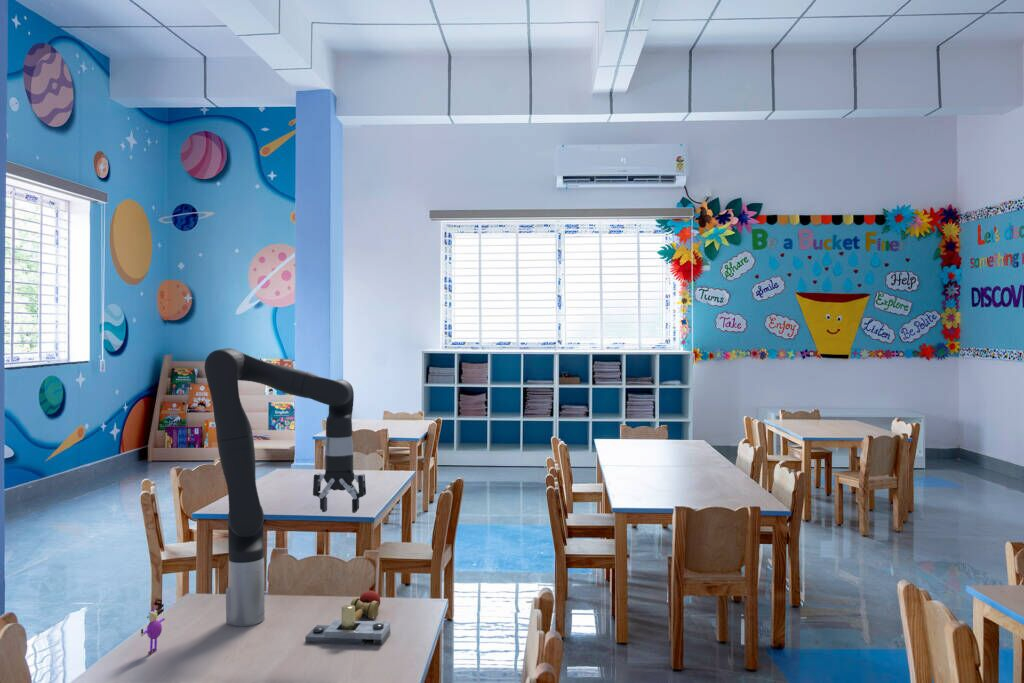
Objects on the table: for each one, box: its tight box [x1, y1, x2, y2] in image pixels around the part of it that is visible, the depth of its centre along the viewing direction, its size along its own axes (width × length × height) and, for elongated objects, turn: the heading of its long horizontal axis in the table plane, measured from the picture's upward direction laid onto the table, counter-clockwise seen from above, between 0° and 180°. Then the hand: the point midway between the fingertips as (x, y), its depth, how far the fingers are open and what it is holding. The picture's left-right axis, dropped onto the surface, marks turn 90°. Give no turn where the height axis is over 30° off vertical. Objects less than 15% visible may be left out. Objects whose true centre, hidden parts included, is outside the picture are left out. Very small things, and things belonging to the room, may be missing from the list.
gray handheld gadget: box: [305, 619, 391, 646], centre depth 199 cm, size 20×8×4 cm, turn 83°
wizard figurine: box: [140, 603, 166, 655], centre depth 190 cm, size 11×3×12 cm, turn 177°
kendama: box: [350, 590, 381, 621], centre depth 212 cm, size 8×6×18 cm
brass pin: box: [341, 604, 355, 630], centre depth 199 cm, size 3×3×8 cm
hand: (339, 511), depth 210 cm, fingers open, 8 cm apart
